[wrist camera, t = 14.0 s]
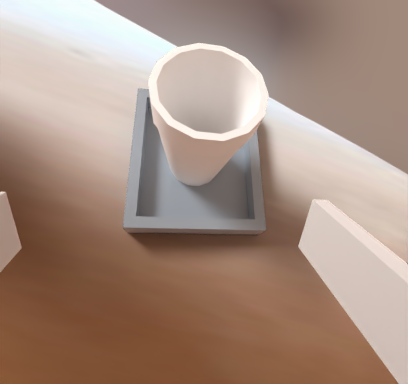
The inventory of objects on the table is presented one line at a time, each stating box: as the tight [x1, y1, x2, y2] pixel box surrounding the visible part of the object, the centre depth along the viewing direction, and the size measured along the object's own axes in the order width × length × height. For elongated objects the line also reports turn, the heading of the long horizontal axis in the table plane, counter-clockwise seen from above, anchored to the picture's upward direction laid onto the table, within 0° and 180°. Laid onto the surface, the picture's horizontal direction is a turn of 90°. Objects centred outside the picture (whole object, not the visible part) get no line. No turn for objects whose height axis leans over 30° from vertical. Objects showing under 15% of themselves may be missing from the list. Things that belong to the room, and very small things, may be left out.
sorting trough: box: [123, 88, 266, 235], centre depth 30 cm, size 15×18×3 cm
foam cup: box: [148, 43, 269, 186], centre depth 25 cm, size 10×9×13 cm
